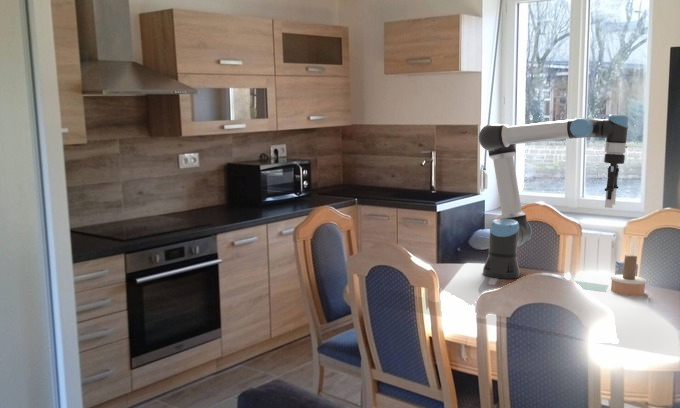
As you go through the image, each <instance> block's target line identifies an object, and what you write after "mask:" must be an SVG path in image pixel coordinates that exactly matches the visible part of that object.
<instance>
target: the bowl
mask: <svg viewBox="0 0 680 408" xmlns="http://www.w3.org/2000/svg"><path fill="white" fill-rule="evenodd" d="M610 285H611V286H610V291H612V292H614V293H616V294H620V295H625V296H644V295H645V289H646V288H645V287H646V284H641V285H636V284H626V283H620V282H616V281H613V280H612V279H611V284H610Z"/></svg>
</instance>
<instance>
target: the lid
mask: <svg viewBox="0 0 680 408" xmlns="http://www.w3.org/2000/svg"><path fill="white" fill-rule="evenodd" d="M637 261H638V256H637V255H634V254H625V255H624V270H623V275H615V274H613V275H611V276H610V279H611V281H612V280H613V281H616V282H620V283H626V284H636V285H641V284H645V285H646V284H647V282H648V280H647V279H645V278H643V277H641V276H638V275H637V276H635V272H636V263H637Z"/></svg>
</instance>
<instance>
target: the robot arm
mask: <svg viewBox="0 0 680 408" xmlns="http://www.w3.org/2000/svg"><path fill="white" fill-rule="evenodd" d="M628 124H629V117H628V116H627V115H625V114H609V115H608V117H607V119H602V118H588V117H587V118H586V117H578V118H573V119H565V120H555V121H545V122H537V123H528V124H526V123H525V124H517V125H508V124H505V123H490V124H486V125H485V126H483V127H482V128H481V130H480V131H479V134H478V141H479V144H480V146H481V147H482V148H483V149H484V150H486V151H487V152H488V157H489V158H490V159H491V160H492V161H493V166H494V167H493V168H494V172H495V179H496V185H497V192H498V198H499V199H498V200H499V204H500V209H501V210H500V211H501V215H500V216H499V217H498V218H497V219H493V220H492V221H491V223H490V226H489V241H488V242H489V244H488V255H487V258H486V260H485V264H484V265H483V270H482V273H483V275H484V276H486V277H490V278H493V279H494V278H495V279H496V278H497V279H507V280H511V279H512V280H513V279H518V278H519V277H520V273H521V272H520V271H521V270H520V268H519V263H518V259H517V255H518V253H517V252H518V247H522V246H524V245H525V244H527V243H528V241H530V239H531V237H532V233H533V231H532V226H531V224H530V223H529V221H528V220H527V214H526V213H525V212H524V211H522V205H521V197H520V192H519V191H520V190H519V186H518V179H517V173H516V168H515V167H516V166H515V161H514V156H515V155H516V153H517V151H516V145H519V144H528V143H530V144H531V143H539V142H549V141H558V140H561V141H562V140H568V139H569V140H571V139H582V138H583V139H584V138H595V139H596V138H599V139H600V138H602V139H605V148H604V149H605V150H604V152H605V154H604V157H603V158H604V160H603V162H604V163H605V164H609V165H608V167H607V181H606V187H605V188H604V192H605V200H604V201H605V202H604V203H605V204H604V208H605V209H606V208H608V209H613V205H616V198H617V197H616V196H617V190H618V189H619V186H618V177H619V173H620V167H619V165H623V164H625V159H626V158H625V157H626V156H625V153H626V149H627V148H628V146H627V145H626V144H627V139H628V138H627V136H628V130H629V129H628V128H629V126H628Z"/></svg>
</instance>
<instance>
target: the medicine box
mask: <svg viewBox="0 0 680 408" xmlns="http://www.w3.org/2000/svg"><path fill="white" fill-rule="evenodd" d="M623 270H624V261H622V260H621V261H620V260H619V261H617V260H616V261H615V268H614V275H623ZM638 271H639V264H638V263H637V262H636V272H635V276H637V277H638Z"/></svg>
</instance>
